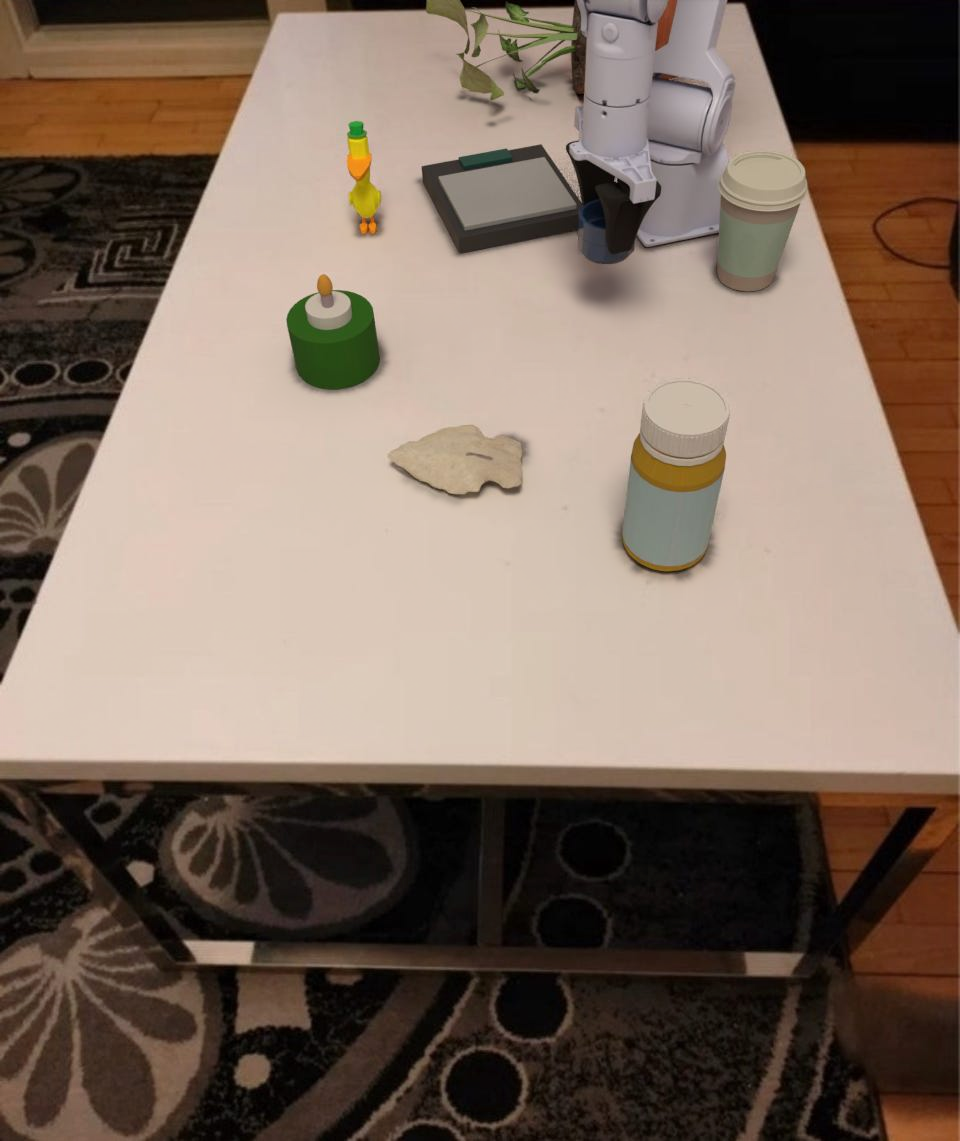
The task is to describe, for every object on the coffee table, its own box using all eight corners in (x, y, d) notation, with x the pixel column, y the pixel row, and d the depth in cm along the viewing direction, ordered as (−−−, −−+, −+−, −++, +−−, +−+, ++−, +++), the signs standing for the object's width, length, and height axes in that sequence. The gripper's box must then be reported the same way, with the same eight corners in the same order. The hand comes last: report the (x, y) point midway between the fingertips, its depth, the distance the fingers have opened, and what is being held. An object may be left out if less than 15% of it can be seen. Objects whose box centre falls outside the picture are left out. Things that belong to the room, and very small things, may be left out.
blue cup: (621, 229, 101) (624, 192, 98) (643, 260, 97) (647, 223, 94) (569, 240, 100) (570, 203, 97) (590, 272, 97) (592, 234, 93)
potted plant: (659, 70, 141) (408, 64, 138) (682, -49, 129) (408, -57, 126) (680, 131, 132) (411, 127, 129) (707, 9, 120) (411, 2, 117)
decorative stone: (520, 509, 88) (524, 484, 86) (383, 497, 87) (384, 471, 85) (519, 446, 93) (523, 420, 91) (390, 434, 93) (391, 408, 90)
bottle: (615, 516, 86) (629, 378, 74) (696, 509, 86) (723, 370, 74) (629, 579, 81) (647, 443, 70) (715, 572, 82) (747, 435, 70)
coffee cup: (791, 259, 109) (816, 153, 99) (779, 306, 104) (804, 198, 94) (712, 247, 111) (729, 141, 101) (696, 291, 106) (713, 185, 96)
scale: (541, 159, 124) (541, 139, 122) (587, 228, 114) (588, 207, 112) (422, 181, 121) (421, 161, 119) (459, 253, 111) (458, 232, 109)
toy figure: (382, 246, 113) (369, 142, 103) (350, 247, 113) (335, 144, 103) (385, 213, 117) (373, 111, 108) (354, 214, 117) (340, 112, 108)
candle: (314, 399, 97) (296, 312, 89) (284, 352, 101) (264, 265, 94) (393, 372, 99) (382, 284, 91) (360, 326, 104) (347, 240, 96)
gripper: (545, 63, 91) (543, 202, 101) (605, 140, 82) (596, 283, 92) (618, 50, 92) (608, 188, 102) (685, 124, 83) (667, 267, 93)
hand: (607, 232), depth 97 cm, fingers closed on blue cup, 5 cm apart
